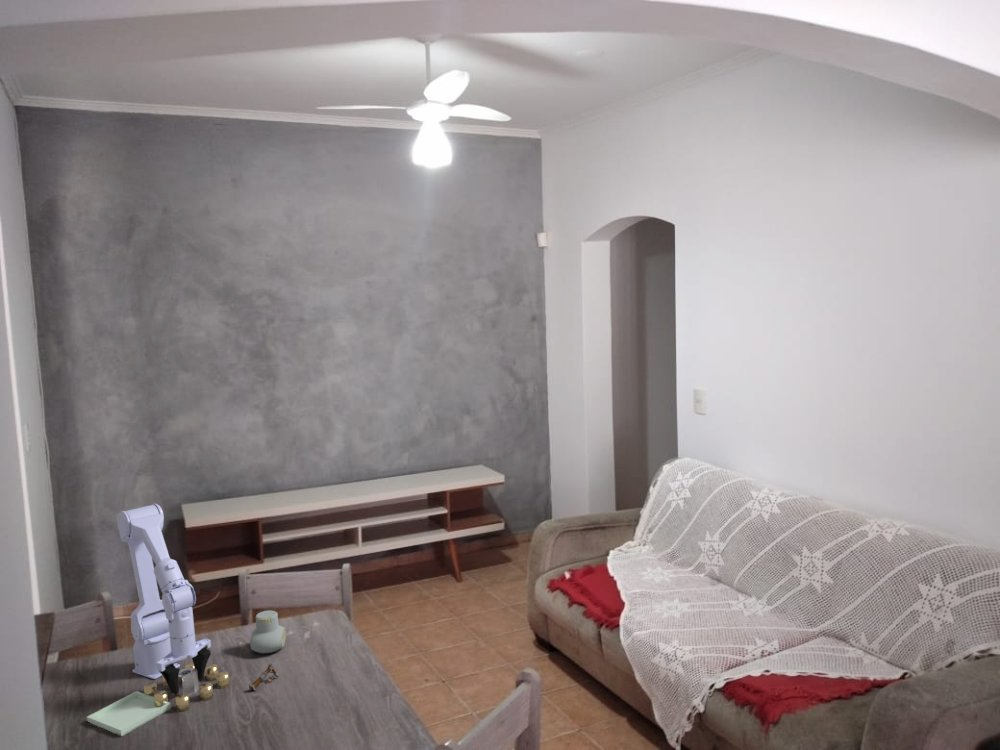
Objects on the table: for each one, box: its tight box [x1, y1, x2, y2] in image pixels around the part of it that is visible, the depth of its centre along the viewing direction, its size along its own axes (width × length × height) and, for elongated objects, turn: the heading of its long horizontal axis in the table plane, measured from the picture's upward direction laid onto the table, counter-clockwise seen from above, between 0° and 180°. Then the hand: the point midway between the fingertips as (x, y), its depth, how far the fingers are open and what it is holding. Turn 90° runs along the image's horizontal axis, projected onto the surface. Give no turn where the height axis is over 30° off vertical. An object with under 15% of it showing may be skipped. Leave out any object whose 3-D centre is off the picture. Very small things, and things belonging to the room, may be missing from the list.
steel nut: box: [176, 668, 200, 696], centre depth 198 cm, size 5×4×5 cm
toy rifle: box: [248, 662, 279, 692], centre depth 200 cm, size 2×8×4 cm, turn 143°
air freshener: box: [249, 609, 287, 654], centre depth 220 cm, size 11×8×10 cm
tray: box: [86, 690, 172, 737], centre depth 188 cm, size 13×13×2 cm
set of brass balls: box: [143, 661, 231, 713], centre depth 198 cm, size 17×18×3 cm
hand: (187, 685), depth 198 cm, fingers open, 7 cm apart
